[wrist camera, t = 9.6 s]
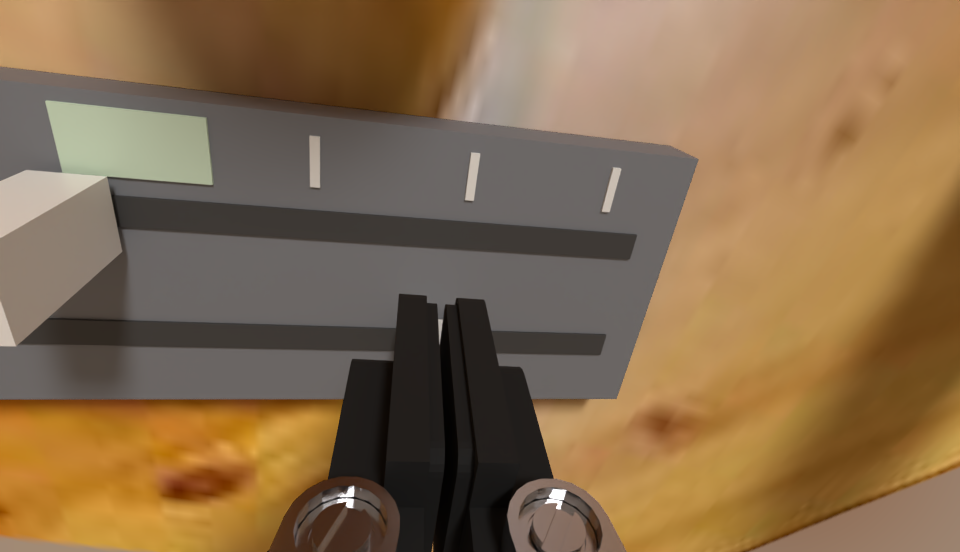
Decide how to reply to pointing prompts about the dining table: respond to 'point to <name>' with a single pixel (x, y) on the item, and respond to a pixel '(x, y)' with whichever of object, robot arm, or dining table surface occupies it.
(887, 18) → the dining table surface
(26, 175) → the fader
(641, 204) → the console
